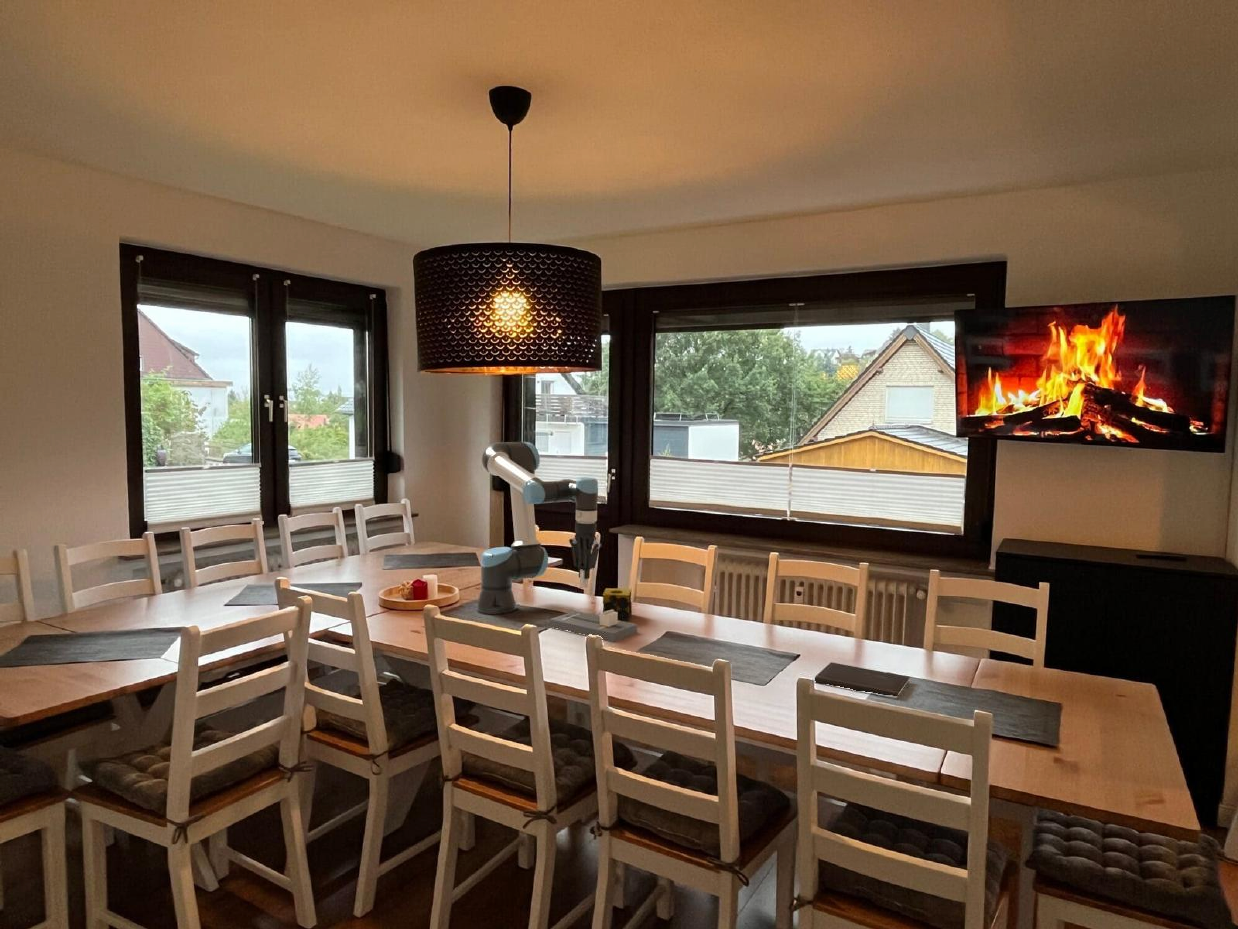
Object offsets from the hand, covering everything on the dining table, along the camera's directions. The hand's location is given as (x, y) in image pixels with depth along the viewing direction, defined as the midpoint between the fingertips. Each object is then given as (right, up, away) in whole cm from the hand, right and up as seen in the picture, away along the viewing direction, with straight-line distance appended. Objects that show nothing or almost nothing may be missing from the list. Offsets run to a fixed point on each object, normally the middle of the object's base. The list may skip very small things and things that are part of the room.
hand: (583, 587), depth 273 cm
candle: (+12, -14, +15) cm, 24 cm away
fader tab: (+9, -12, -6) cm, 16 cm away
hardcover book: (+83, -20, -50) cm, 99 cm away
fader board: (+3, -15, -2) cm, 15 cm away
